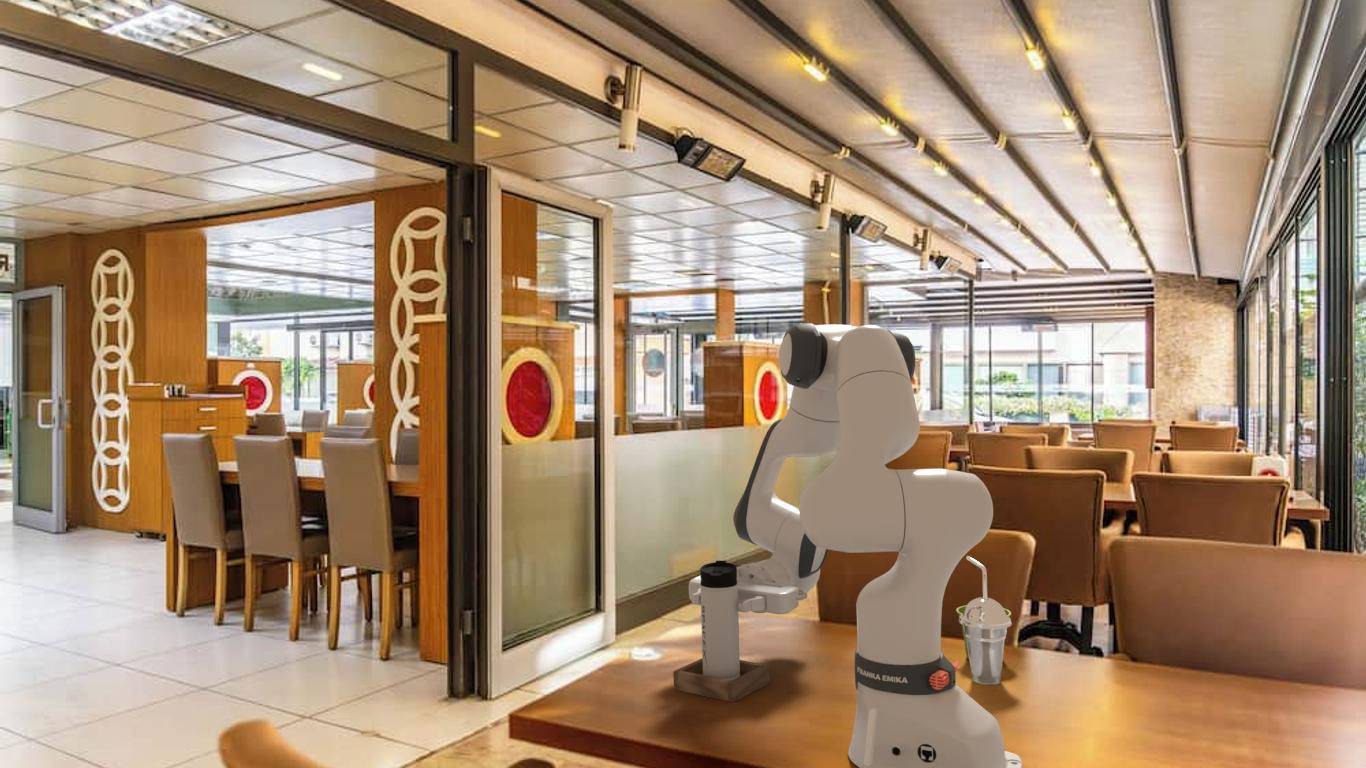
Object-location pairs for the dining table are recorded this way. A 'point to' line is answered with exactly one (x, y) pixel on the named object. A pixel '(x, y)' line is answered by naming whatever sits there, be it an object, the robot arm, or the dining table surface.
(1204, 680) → the dining table surface
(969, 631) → the cup with straw
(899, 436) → the robot arm
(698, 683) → the open wooden tray
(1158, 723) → the dining table surface
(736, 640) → the travel mug
